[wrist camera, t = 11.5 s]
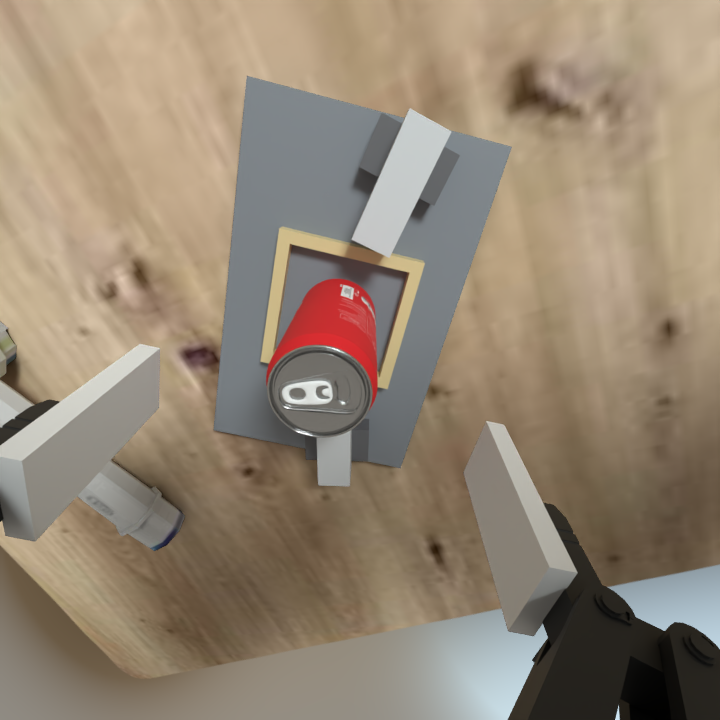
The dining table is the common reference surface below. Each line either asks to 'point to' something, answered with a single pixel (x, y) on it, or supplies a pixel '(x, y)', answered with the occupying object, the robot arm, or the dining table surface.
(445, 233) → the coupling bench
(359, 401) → the beverage can
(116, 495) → the white long shaft part
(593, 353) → the dining table surface
